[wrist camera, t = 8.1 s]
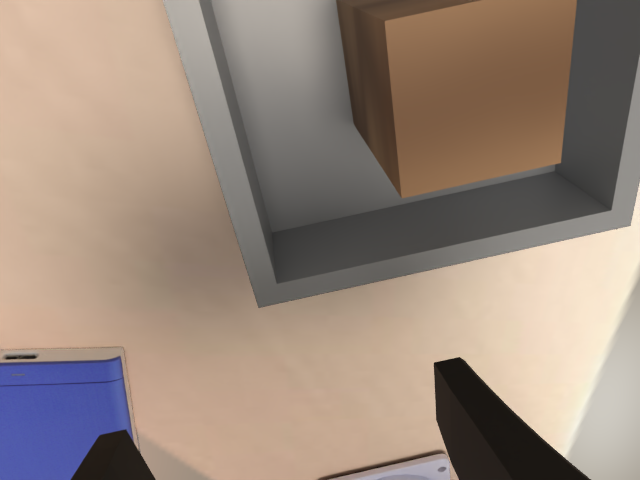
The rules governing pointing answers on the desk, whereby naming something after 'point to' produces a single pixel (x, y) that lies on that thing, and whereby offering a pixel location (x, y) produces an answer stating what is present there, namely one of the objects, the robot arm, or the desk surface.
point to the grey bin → (361, 165)
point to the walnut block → (458, 86)
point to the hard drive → (59, 408)
